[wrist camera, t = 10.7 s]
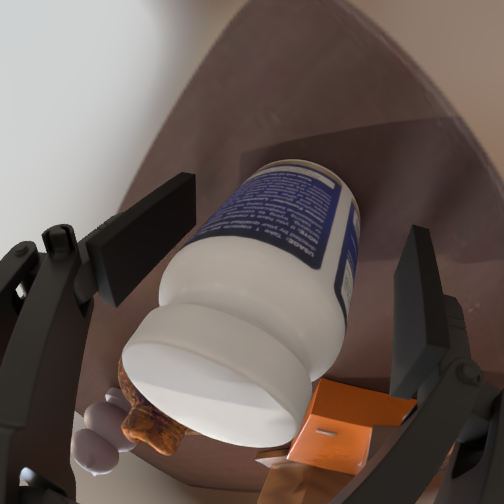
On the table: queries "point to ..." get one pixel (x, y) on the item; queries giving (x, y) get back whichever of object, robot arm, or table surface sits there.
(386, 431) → the steel brick red tip
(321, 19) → the table surface
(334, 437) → the orange flat square block
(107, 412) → the cat figurine
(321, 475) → the brown wooden square column
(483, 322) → the table surface
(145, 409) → the brown rounded piece
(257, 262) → the pill bottle
